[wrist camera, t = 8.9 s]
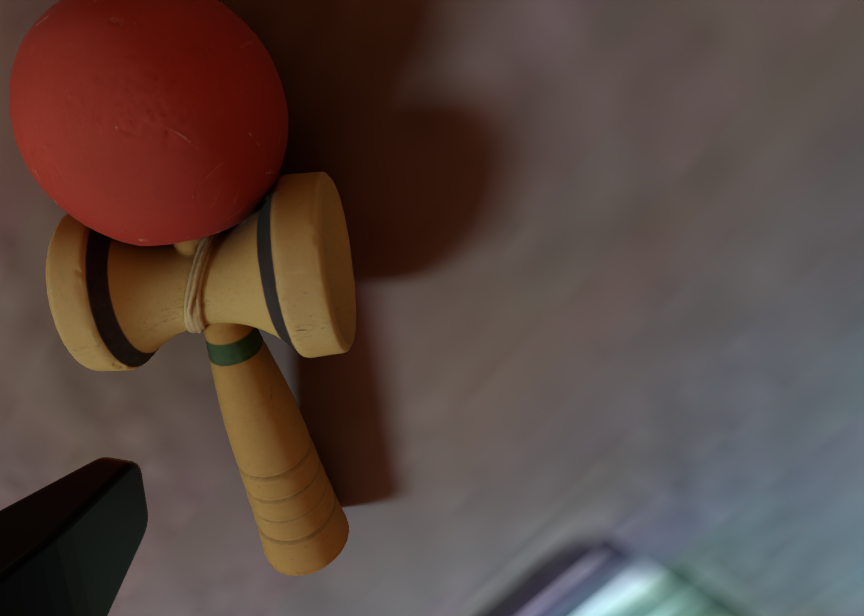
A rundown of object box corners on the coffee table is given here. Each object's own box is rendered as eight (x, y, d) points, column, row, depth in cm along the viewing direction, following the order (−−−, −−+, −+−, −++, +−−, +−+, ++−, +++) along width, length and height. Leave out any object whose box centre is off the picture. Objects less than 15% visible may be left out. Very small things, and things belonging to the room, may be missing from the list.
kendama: (446, 476, 26) (334, -68, 16) (390, 637, 21) (175, 4, 11) (264, 452, 28) (64, -30, 18) (176, 592, 24) (-163, 42, 13)
